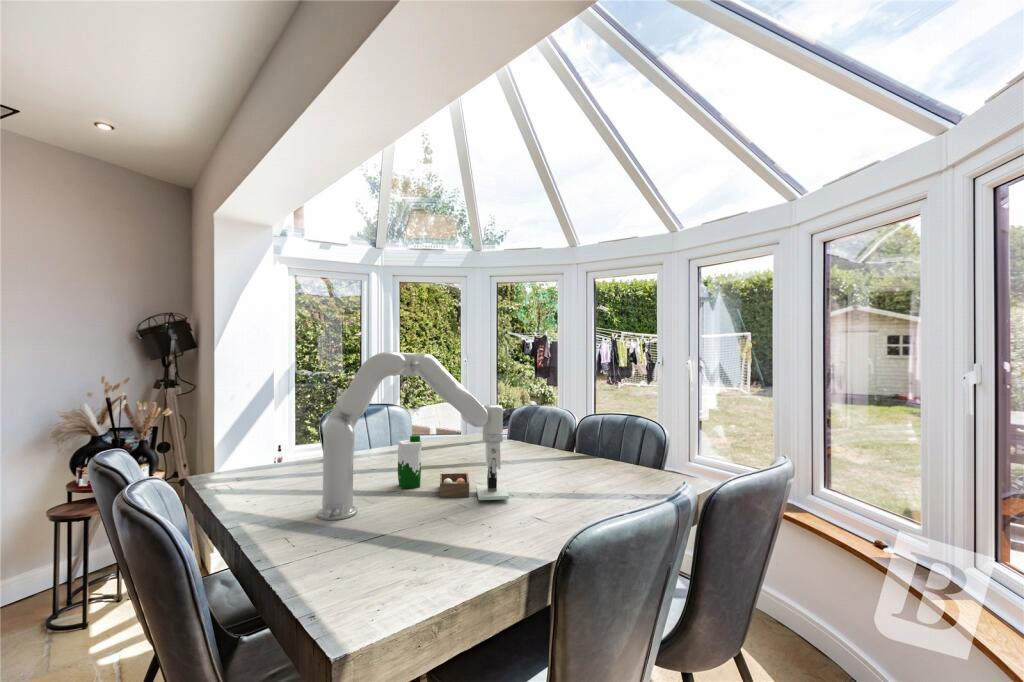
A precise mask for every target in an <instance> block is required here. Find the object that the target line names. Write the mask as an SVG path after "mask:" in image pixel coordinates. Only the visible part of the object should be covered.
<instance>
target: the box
mask: <svg viewBox="0 0 1024 682" xmlns="http://www.w3.org/2000/svg"><path fill="white" fill-rule="evenodd" d="M447 478H449V479H451V480H452V483H445V484H443V482H444V480H445V479H447ZM459 478H462V479H464V480H465V483H453V482H456V481H457V479H459ZM469 478H470V477H469V474H468V473H467V472H464V473H462V472H461V473H440V476H439V498H465V497H467V498H468V497H470V479H469Z"/></svg>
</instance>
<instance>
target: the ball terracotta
mask: <svg viewBox="0 0 1024 682" xmlns="http://www.w3.org/2000/svg"><path fill="white" fill-rule="evenodd" d="M456 482H457V483H465V480H464V479H462V478H459V479H457V481H456Z"/></svg>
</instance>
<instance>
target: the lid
mask: <svg viewBox="0 0 1024 682" xmlns="http://www.w3.org/2000/svg"><path fill="white" fill-rule="evenodd" d="M491 472H492V471H491ZM487 475H488V477H489V471H488V470H487ZM475 489H476V493H477V494H476V495H477V499H478V501H491V500H493V501H495V500H496V501H497V500H498V501H499V500H510V495H509V492H508V490H507V488H506V485H505V484H504V483H503V484H501V483H500V484H499V483H497V488H488V482H487V481H486V484H476V485H475Z"/></svg>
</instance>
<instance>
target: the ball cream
mask: <svg viewBox="0 0 1024 682" xmlns="http://www.w3.org/2000/svg"><path fill="white" fill-rule="evenodd" d="M445 483H452V480H451V479H449V478H447V479H445V480H444V482H443V484H445Z"/></svg>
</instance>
